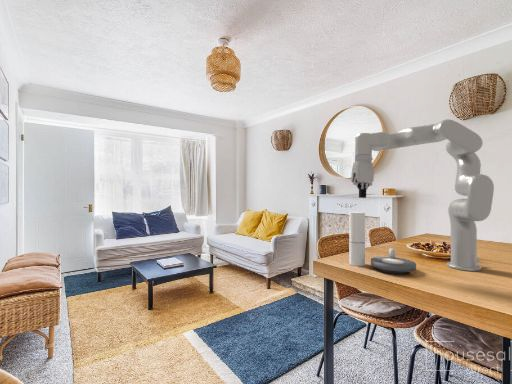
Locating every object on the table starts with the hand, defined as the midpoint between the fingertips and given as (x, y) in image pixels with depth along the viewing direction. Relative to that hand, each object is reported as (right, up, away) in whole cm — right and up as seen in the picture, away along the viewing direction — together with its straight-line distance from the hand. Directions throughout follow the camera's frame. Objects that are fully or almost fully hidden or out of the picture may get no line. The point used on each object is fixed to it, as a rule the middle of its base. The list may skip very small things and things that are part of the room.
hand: (362, 197), depth 129 cm
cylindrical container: (-2, -32, +1) cm, 32 cm away
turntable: (+10, -30, -9) cm, 33 cm away
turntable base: (+10, -32, -9) cm, 35 cm away
